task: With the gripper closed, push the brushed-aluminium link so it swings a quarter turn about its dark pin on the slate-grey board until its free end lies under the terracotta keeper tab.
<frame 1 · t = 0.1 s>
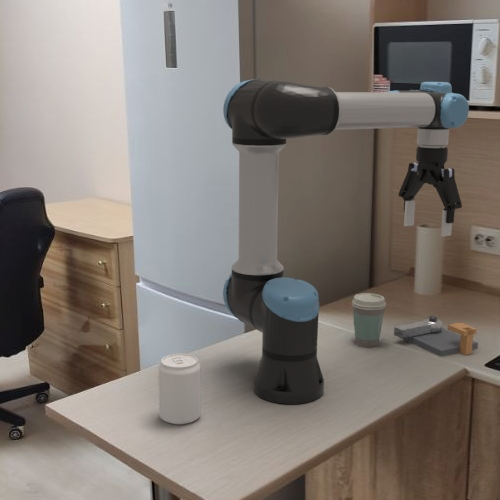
hand: (426, 230, 193), 28 cm above the counter, fingers open, 13 cm apart
coffee cup: (366, 343, 193), on the counter
link: (419, 326, 196), point 3 cm above the counter, hinge at 0.0°
beverage can: (180, 418, 151), on the counter
board: (438, 342, 194), on the counter
keeper: (465, 353, 187), on the counter
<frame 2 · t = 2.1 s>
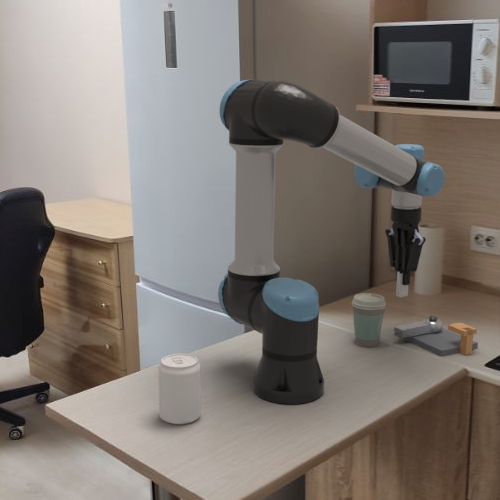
hand: (401, 295, 199), 10 cm above the counter, fingers closed
nothing on the counter moved.
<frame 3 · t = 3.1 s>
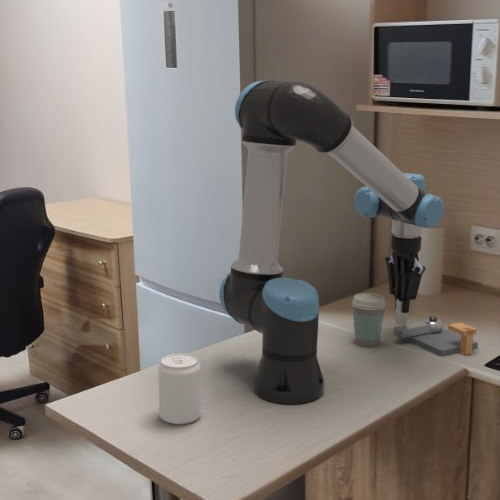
hand: (401, 323, 200), 3 cm above the counter, fingers closed
nothing on the counter moved.
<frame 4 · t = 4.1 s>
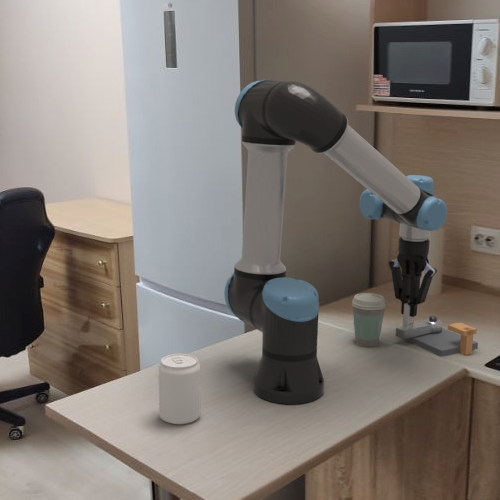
hand: (407, 327, 197), 3 cm above the counter, fingers closed
link: (420, 326, 195), point 3 cm above the counter, hinge at 3.8°, touching gripper
everything else where it was.
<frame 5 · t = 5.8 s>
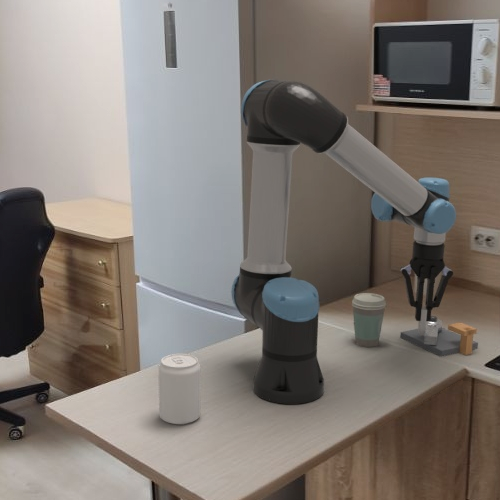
hand: (421, 332, 193), 3 cm above the counter, fingers closed
link: (431, 329, 194), point 3 cm above the counter, hinge at 45.0°, touching gripper
everything else where it was.
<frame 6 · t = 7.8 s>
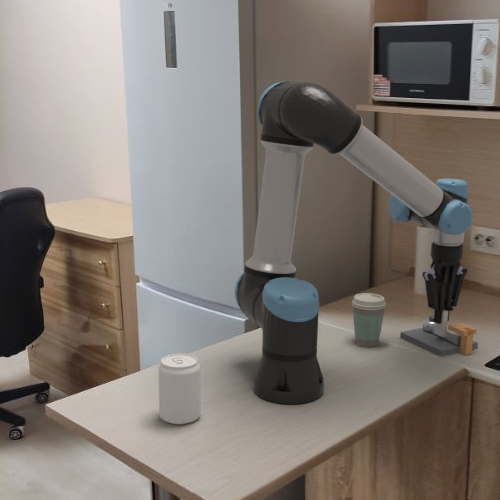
hand: (440, 334, 192), 3 cm above the counter, fingers closed
link: (444, 328, 194), point 3 cm above the counter, hinge at 85.4°, touching gripper
everything else where it was.
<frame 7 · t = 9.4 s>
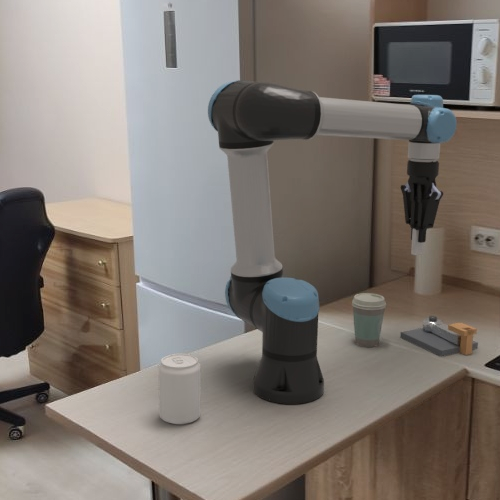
hand: (417, 254, 191), 22 cm above the counter, fingers closed
link: (444, 328, 194), point 3 cm above the counter, hinge at 85.4°
everything else where it was.
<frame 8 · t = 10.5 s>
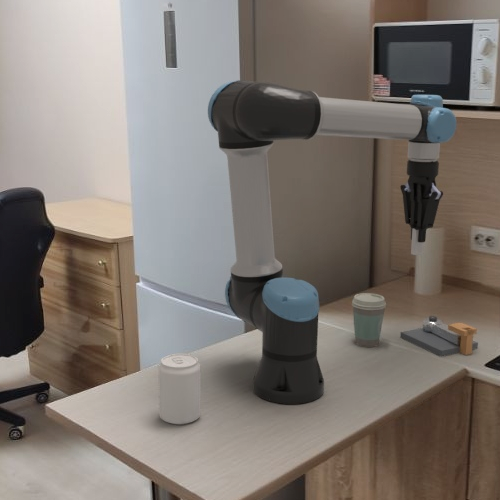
hand: (417, 253, 191), 22 cm above the counter, fingers closed
nothing on the counter moved.
at the end: link at +85° (first picture: +0°); the gripper is holding nothing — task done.
